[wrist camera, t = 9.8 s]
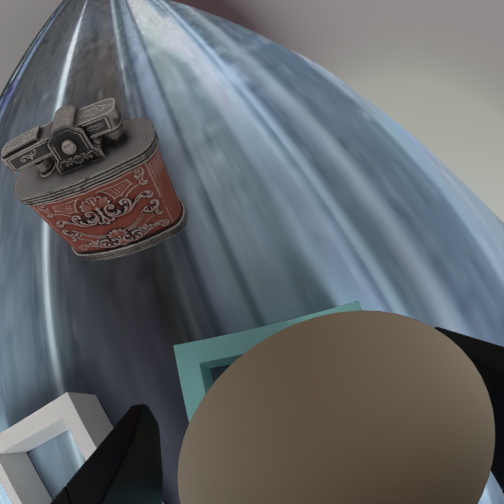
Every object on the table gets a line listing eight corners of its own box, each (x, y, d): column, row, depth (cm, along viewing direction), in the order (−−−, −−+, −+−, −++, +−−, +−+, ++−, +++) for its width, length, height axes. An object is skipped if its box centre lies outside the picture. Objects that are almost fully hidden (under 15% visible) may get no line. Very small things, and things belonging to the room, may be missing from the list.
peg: (278, 469, 13) (307, 633, 2) (227, 406, 15) (112, 436, 3) (346, 419, 14) (528, 450, 3) (296, 357, 16) (378, 248, 4)
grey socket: (178, 520, 12) (162, 539, 9) (78, 552, 10) (54, 566, 8) (95, 394, 15) (67, 391, 13) (12, 443, 13) (-17, 443, 11)
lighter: (183, 193, 21) (138, 67, 12) (192, 236, 19) (140, 108, 10) (77, 227, 20) (-4, 131, 11) (77, 270, 19) (-21, 181, 10)
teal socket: (382, 460, 13) (404, 470, 10) (224, 502, 13) (216, 522, 10) (343, 316, 17) (358, 300, 14) (188, 353, 16) (173, 345, 14)
